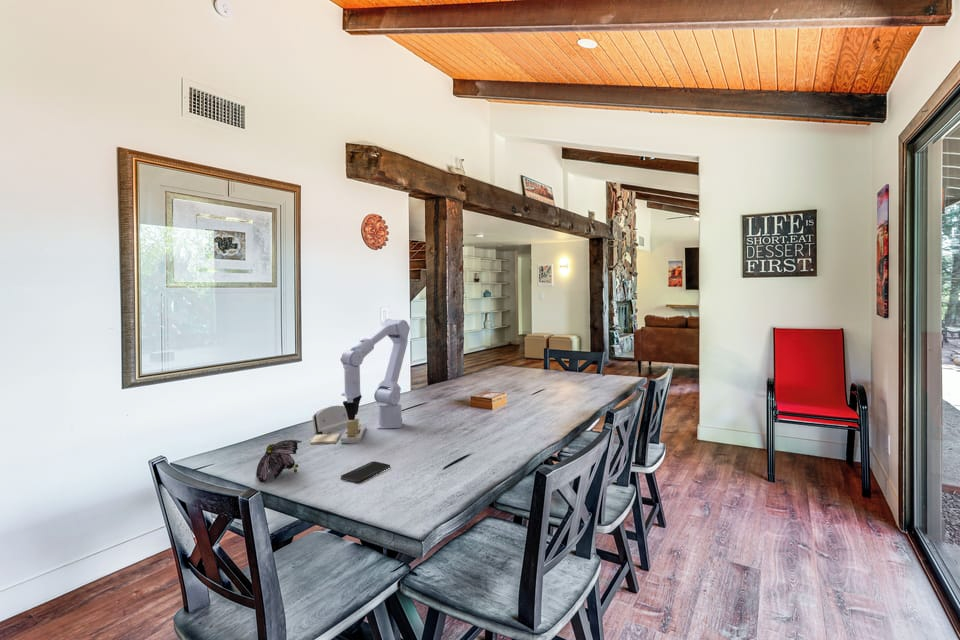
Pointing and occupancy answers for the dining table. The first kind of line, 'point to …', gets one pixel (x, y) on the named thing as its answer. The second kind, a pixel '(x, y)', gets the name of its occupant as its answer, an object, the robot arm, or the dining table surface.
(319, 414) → the grey rounded upright block
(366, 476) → the phone
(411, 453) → the dining table surface
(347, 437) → the grey peg hole board
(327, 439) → the birch pad
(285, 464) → the decorative flower
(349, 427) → the brass peg
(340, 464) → the dining table surface
